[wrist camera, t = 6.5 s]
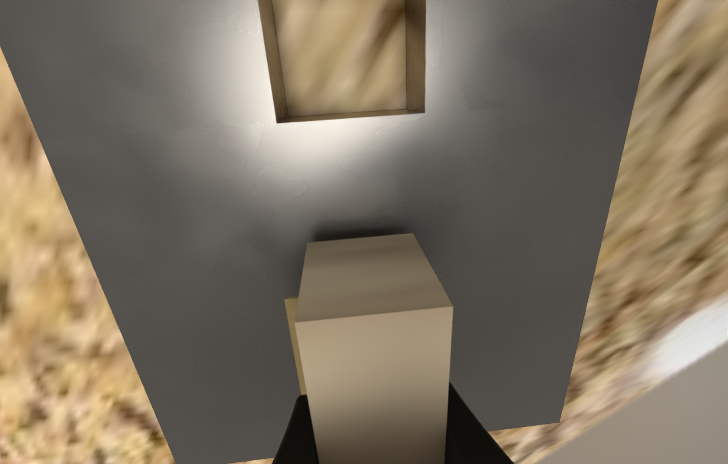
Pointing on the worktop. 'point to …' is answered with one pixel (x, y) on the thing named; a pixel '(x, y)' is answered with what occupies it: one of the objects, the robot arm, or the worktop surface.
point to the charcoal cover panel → (330, 189)
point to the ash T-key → (375, 351)
